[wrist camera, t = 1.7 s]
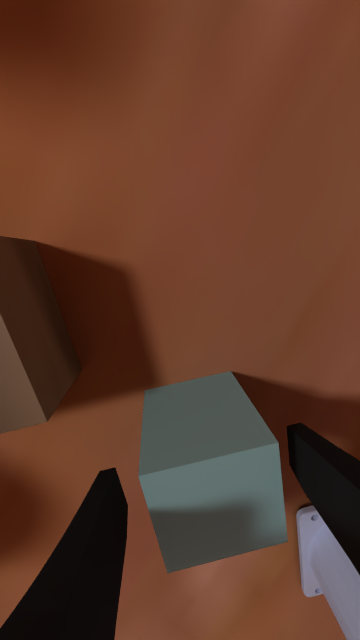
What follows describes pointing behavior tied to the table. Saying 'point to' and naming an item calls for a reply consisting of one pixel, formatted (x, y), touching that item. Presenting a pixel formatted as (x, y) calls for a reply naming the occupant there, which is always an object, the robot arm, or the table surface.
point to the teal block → (209, 472)
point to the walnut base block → (30, 339)
